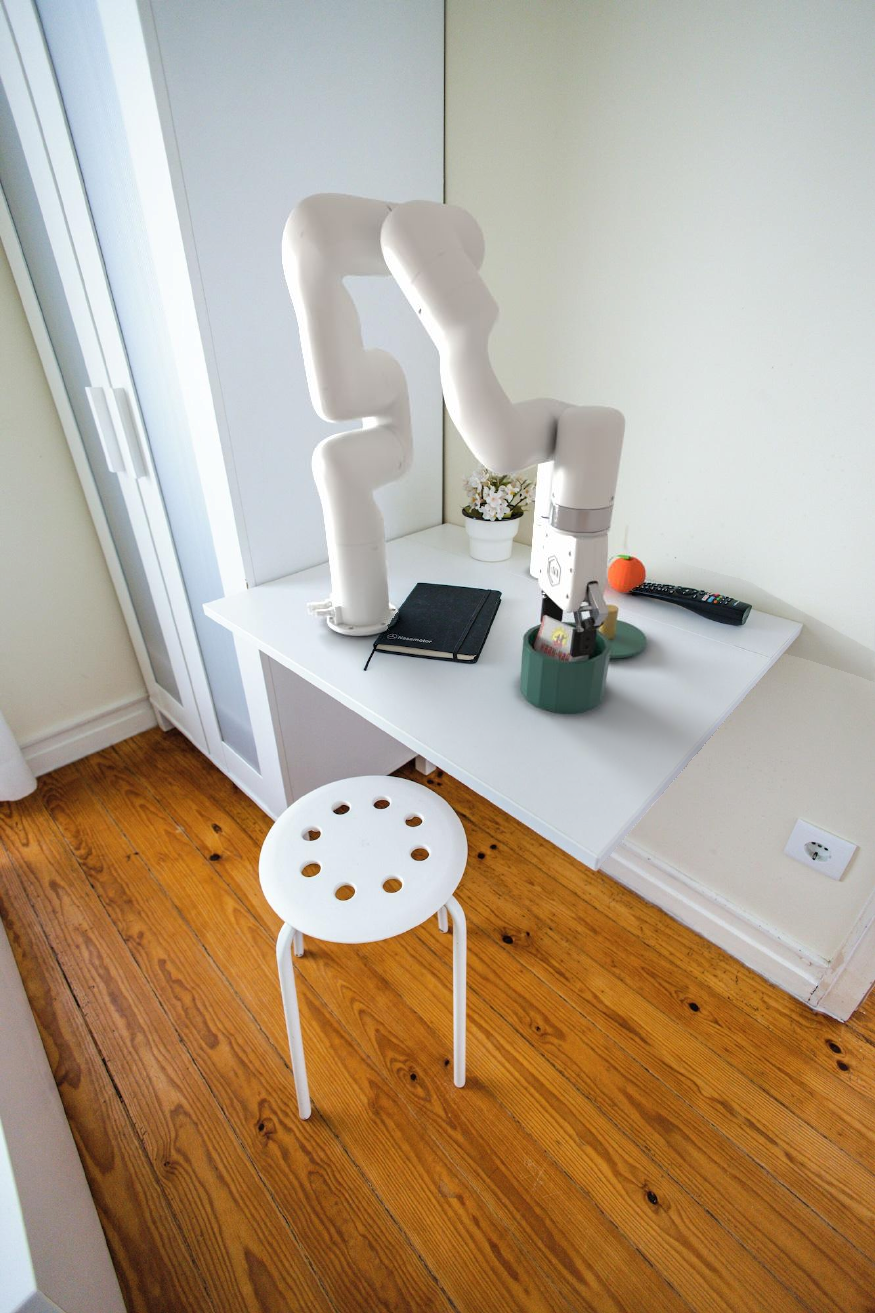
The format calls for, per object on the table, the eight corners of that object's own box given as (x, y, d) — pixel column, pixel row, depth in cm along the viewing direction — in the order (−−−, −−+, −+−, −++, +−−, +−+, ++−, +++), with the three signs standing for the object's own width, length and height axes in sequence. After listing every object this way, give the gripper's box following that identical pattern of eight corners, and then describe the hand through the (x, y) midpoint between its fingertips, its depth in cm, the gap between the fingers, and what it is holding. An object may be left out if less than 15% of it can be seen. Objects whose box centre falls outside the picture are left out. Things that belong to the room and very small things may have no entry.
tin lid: (588, 666, 92) (593, 631, 89) (552, 628, 103) (556, 596, 99) (661, 654, 95) (668, 620, 92) (619, 619, 105) (624, 587, 102)
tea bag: (550, 671, 90) (553, 611, 85) (585, 689, 85) (591, 627, 80) (532, 679, 88) (535, 619, 83) (567, 699, 83) (572, 636, 78)
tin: (539, 720, 80) (544, 669, 76) (508, 674, 90) (510, 627, 86) (618, 705, 83) (627, 656, 79) (579, 663, 93) (585, 617, 89)
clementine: (593, 588, 117) (598, 553, 113) (616, 579, 120) (621, 545, 117) (627, 602, 111) (633, 566, 107) (650, 592, 115) (656, 557, 111)
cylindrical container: (555, 582, 119) (568, 453, 106) (524, 574, 123) (532, 448, 110) (571, 571, 124) (585, 446, 111) (540, 563, 128) (551, 441, 115)
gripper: (524, 498, 80) (516, 613, 89) (585, 542, 65) (568, 674, 74) (575, 493, 82) (562, 607, 90) (646, 536, 67) (622, 666, 76)
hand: (565, 637), depth 82 cm, fingers open, 9 cm apart
